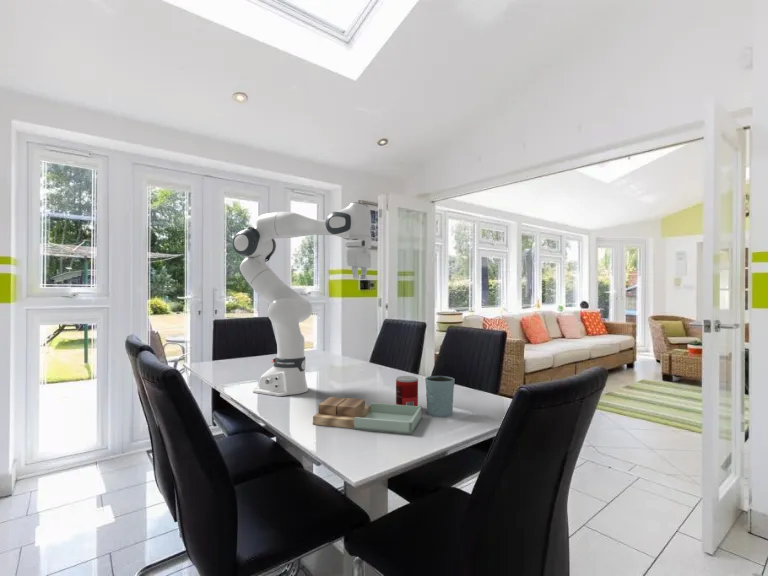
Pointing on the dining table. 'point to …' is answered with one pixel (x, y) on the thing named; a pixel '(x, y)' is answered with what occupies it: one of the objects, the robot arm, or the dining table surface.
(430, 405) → the teal plant pot
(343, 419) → the board
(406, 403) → the canned food
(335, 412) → the tile
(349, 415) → the tile
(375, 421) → the tray
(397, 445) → the dining table surface
